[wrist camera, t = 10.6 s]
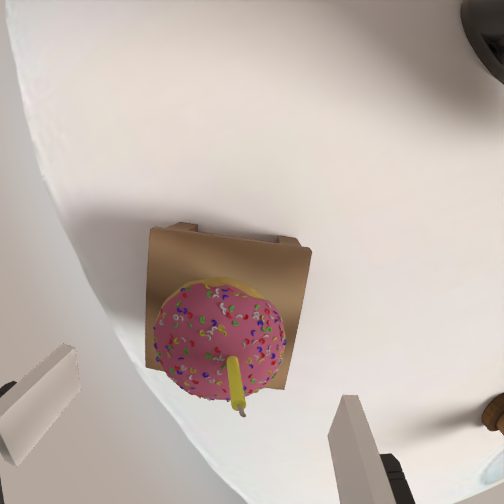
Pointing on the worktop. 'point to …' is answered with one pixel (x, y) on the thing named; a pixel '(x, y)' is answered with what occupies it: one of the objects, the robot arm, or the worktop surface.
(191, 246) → the walnut stool
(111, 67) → the worktop surface
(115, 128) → the worktop surface
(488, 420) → the brown chess pawn
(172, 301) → the cupcake
